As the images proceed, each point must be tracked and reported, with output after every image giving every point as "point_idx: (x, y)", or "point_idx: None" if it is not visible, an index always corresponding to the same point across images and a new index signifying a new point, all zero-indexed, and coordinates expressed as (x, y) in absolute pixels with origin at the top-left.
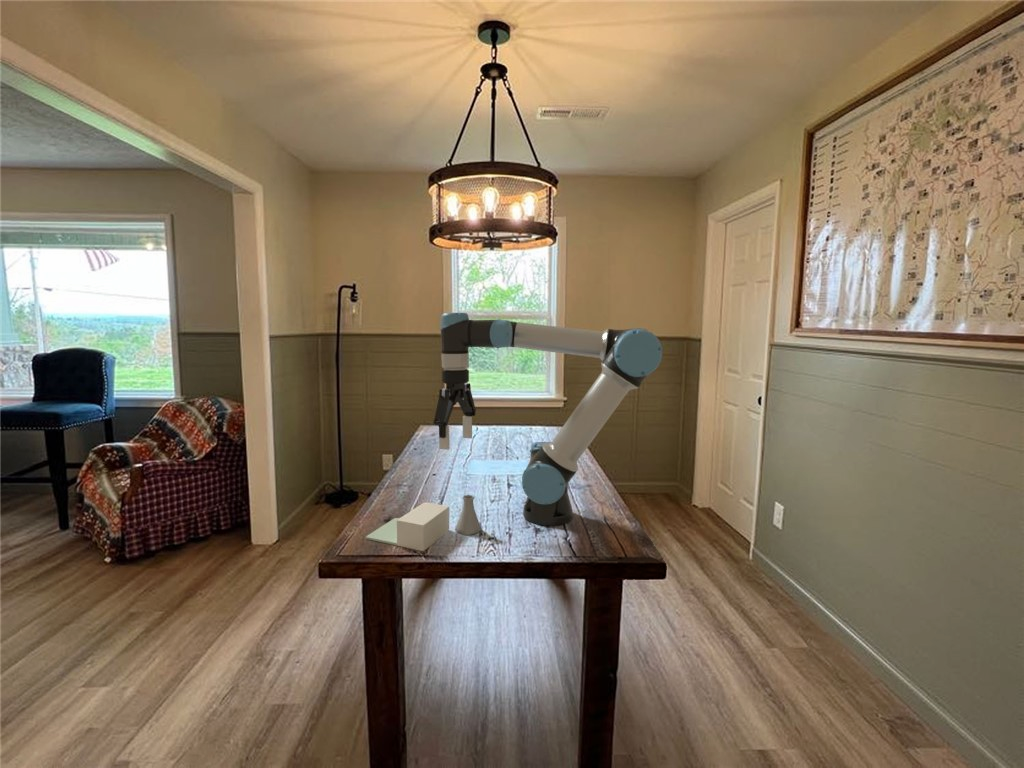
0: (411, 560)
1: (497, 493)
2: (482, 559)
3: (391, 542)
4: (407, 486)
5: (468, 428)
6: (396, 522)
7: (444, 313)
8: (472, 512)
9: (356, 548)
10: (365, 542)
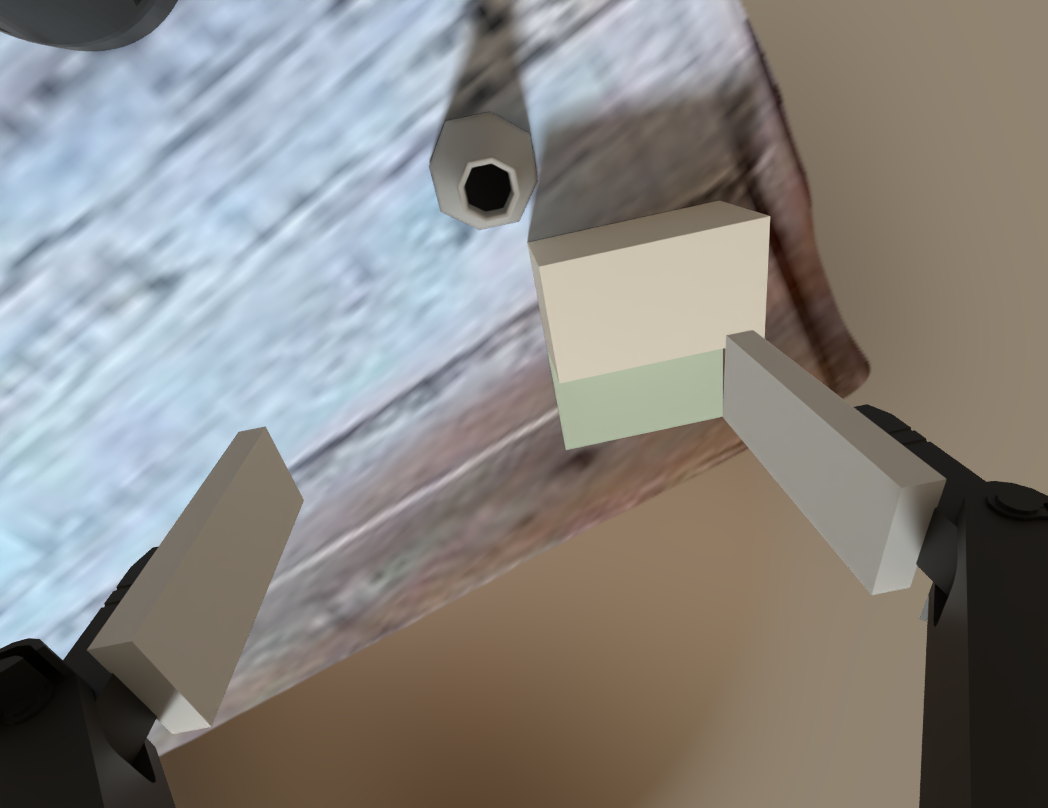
0: (792, 187)
1: (73, 322)
2: None
3: None
4: (332, 600)
5: (237, 523)
6: (594, 421)
7: None
8: (491, 149)
9: None
10: None
